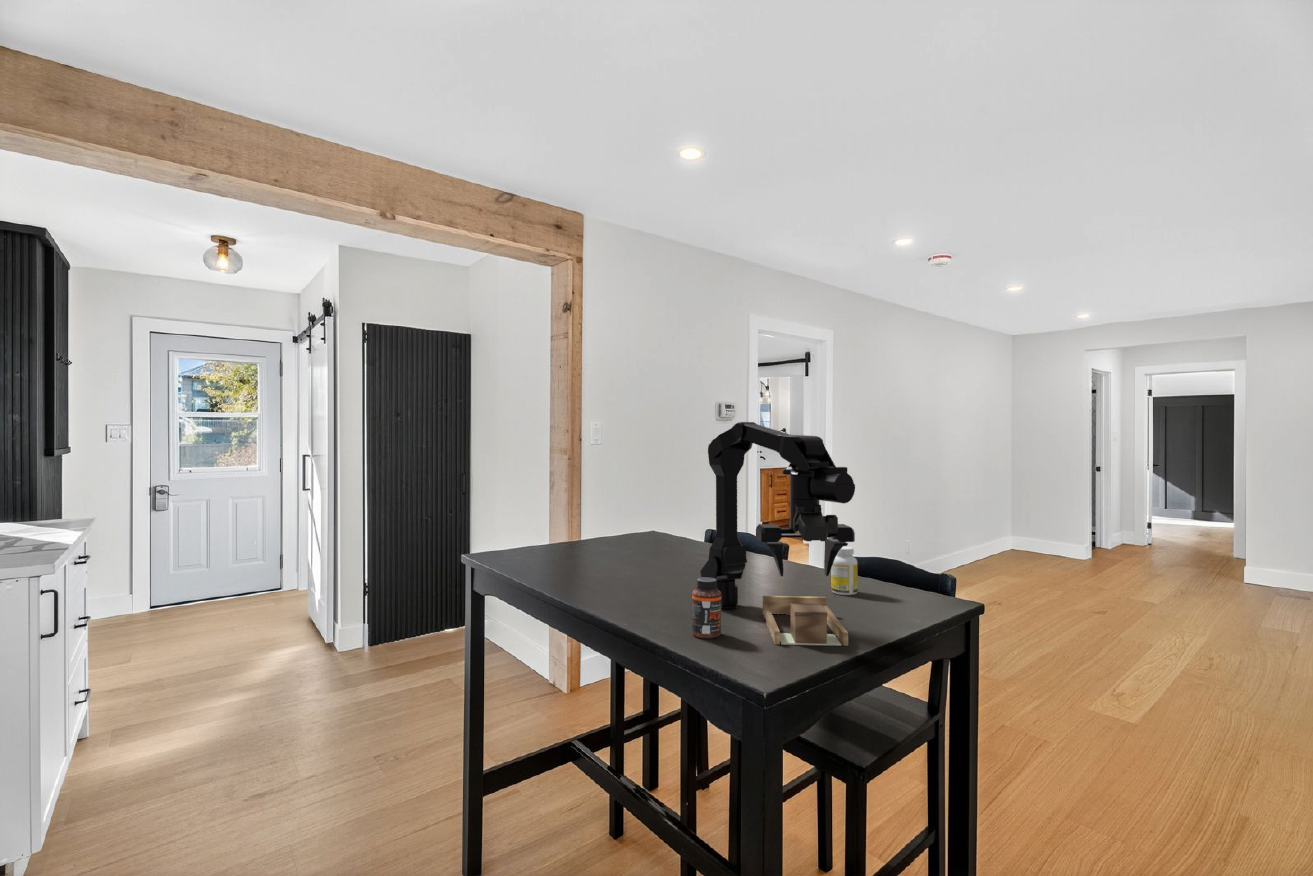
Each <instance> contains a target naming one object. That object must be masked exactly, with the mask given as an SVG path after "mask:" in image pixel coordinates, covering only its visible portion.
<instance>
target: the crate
mask: <svg viewBox="0 0 1313 876" xmlns="http://www.w3.org/2000/svg"><path fill="white" fill-rule="evenodd" d="M790 608H791V615H790V633H791V635H792V637H793V639H794V641H795V643H816V644H827V634H828V624H827V612H826V611H825V609H824V608H823V607H822V605H821V604H790Z"/></svg>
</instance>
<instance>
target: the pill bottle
mask: <svg viewBox="0 0 1313 876" xmlns="http://www.w3.org/2000/svg"><path fill="white" fill-rule="evenodd" d="M854 550H855V549H854V547H852V546H848V545H847V546H843V547H842V548H841V549H840V550H839V552H838V553H837V555H836V557H835V560H834V562H833V565H832V568H831V570H830V572H831V573H830V577H831V578H830V580H831V582H830V585H831V586H830V587H831V592H833V593H834V594H836V595H840V596H853V595H854V596H855V595H856V594H857V593H858V588H859V587H858V560H857V558H856V557H854V556H853V555H854V552H855V551H854Z"/></svg>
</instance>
